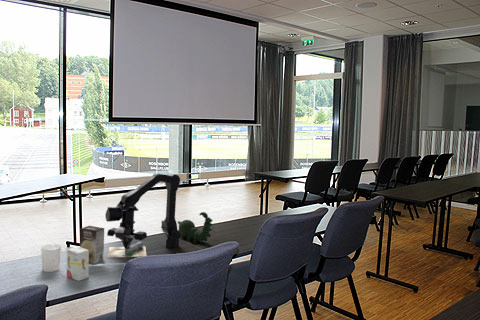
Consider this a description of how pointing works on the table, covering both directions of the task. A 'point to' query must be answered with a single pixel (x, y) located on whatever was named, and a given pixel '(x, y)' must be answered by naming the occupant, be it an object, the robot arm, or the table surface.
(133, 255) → the dial board
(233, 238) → the table surface
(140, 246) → the grey long bar
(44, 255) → the white cup
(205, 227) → the toy figurine
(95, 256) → the coffee box
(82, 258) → the ink box
